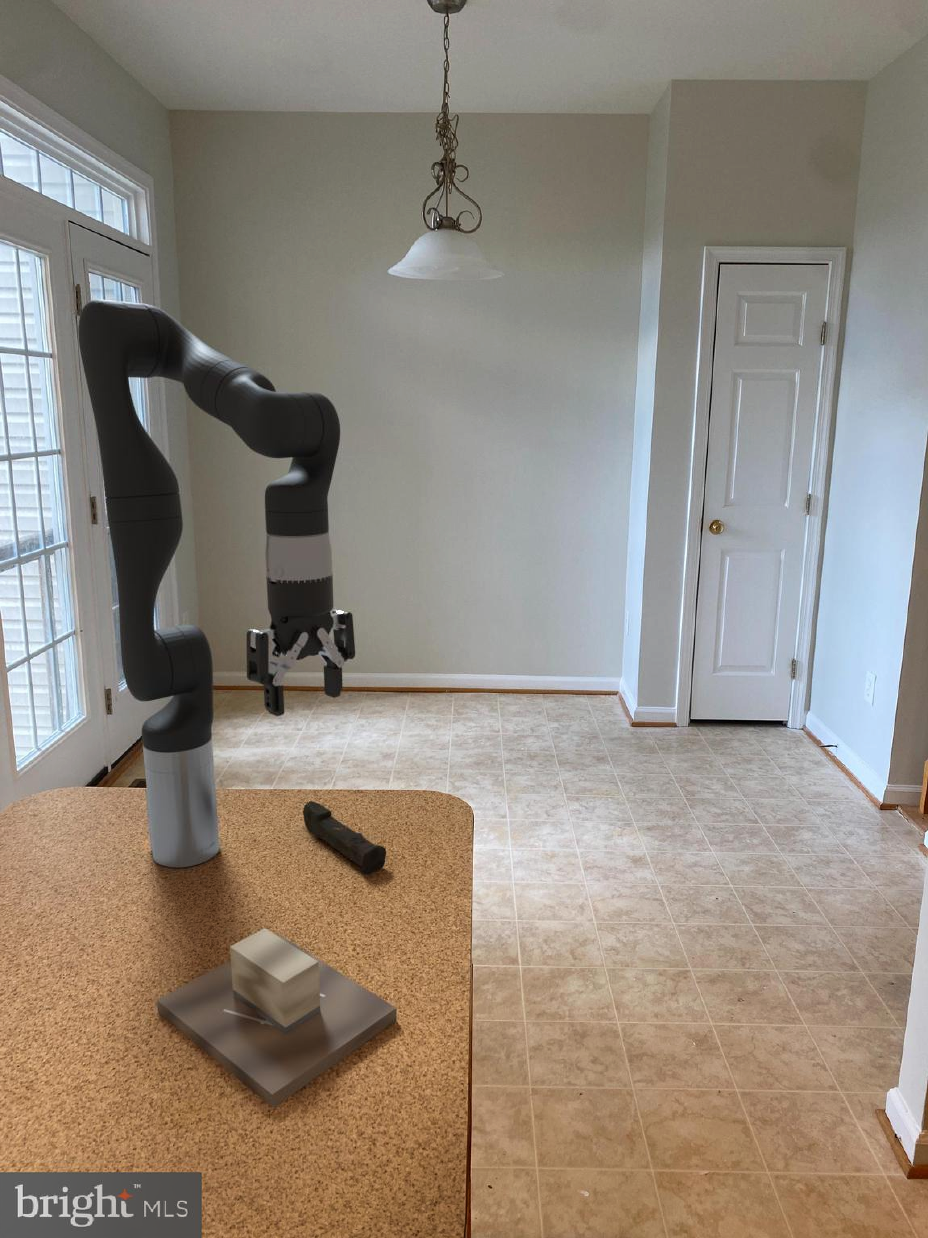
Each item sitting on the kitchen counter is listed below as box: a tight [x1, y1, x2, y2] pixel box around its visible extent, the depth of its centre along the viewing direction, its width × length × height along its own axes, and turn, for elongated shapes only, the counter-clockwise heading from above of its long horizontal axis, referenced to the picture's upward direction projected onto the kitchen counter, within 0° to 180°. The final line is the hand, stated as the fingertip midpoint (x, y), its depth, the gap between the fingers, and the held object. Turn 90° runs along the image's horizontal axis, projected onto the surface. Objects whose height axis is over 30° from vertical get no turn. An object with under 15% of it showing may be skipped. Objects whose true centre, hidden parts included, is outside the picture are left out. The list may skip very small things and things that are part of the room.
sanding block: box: [229, 927, 321, 1034], centre depth 94 cm, size 9×4×6 cm, turn 49°
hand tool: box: [302, 800, 387, 876], centre depth 130 cm, size 19×4×5 cm, turn 38°
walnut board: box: [156, 933, 398, 1109], centre depth 95 cm, size 20×16×2 cm
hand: (305, 704), depth 107 cm, fingers open, 8 cm apart
